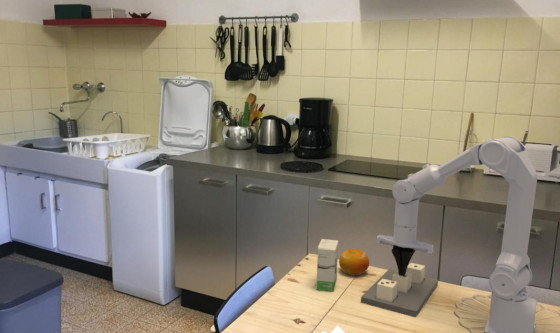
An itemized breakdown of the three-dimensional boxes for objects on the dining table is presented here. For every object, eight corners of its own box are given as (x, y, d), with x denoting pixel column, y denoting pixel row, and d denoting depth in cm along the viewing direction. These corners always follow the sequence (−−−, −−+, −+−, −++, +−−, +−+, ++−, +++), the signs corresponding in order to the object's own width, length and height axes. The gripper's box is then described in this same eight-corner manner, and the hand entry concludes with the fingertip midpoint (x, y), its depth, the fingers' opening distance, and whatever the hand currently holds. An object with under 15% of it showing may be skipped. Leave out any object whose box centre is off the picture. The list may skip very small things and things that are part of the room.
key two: (410, 291, 127) (412, 272, 126) (406, 296, 123) (407, 278, 123) (396, 287, 129) (397, 269, 128) (391, 293, 125) (392, 274, 125)
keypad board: (437, 284, 132) (438, 279, 132) (415, 317, 113) (416, 311, 113) (388, 273, 139) (389, 268, 139) (360, 302, 120) (361, 296, 120)
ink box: (334, 292, 126) (335, 249, 124) (315, 290, 127) (317, 248, 125) (337, 279, 134) (338, 239, 132) (319, 277, 135) (321, 238, 133)
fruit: (329, 260, 139) (346, 240, 137) (343, 263, 146) (359, 243, 144) (347, 281, 134) (365, 260, 132) (361, 283, 140) (378, 263, 139)
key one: (423, 282, 132) (425, 265, 131) (419, 287, 129) (421, 269, 128) (409, 279, 134) (410, 262, 133) (405, 284, 131) (406, 266, 130)
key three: (396, 300, 121) (397, 281, 120) (391, 306, 118) (392, 287, 117) (381, 296, 123) (382, 277, 122) (376, 302, 120) (377, 283, 119)
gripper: (437, 225, 123) (433, 275, 125) (383, 216, 130) (380, 263, 132) (431, 232, 117) (427, 284, 119) (374, 222, 124) (372, 271, 126)
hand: (402, 274), depth 125 cm, fingers closed, pressing on key two
